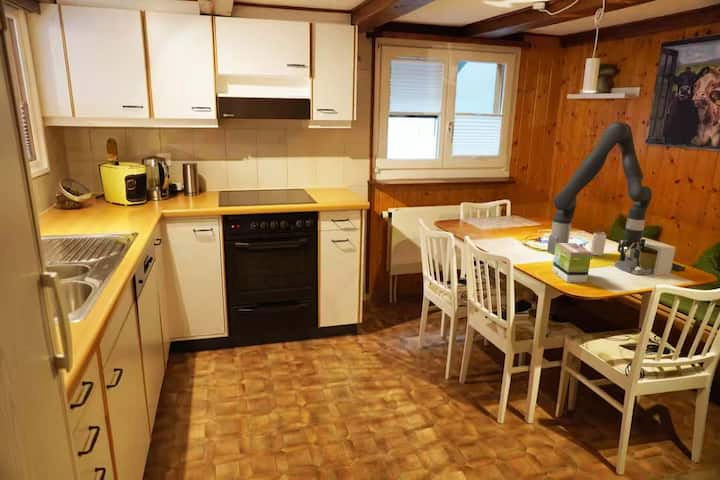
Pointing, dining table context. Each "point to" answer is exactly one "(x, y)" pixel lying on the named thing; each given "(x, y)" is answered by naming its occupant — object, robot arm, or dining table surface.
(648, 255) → the flower pot
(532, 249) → the dining table surface
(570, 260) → the tea box
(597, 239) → the can
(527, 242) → the dining table surface
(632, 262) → the sled
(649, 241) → the tunnel
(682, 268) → the pit tray
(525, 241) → the dining table surface
